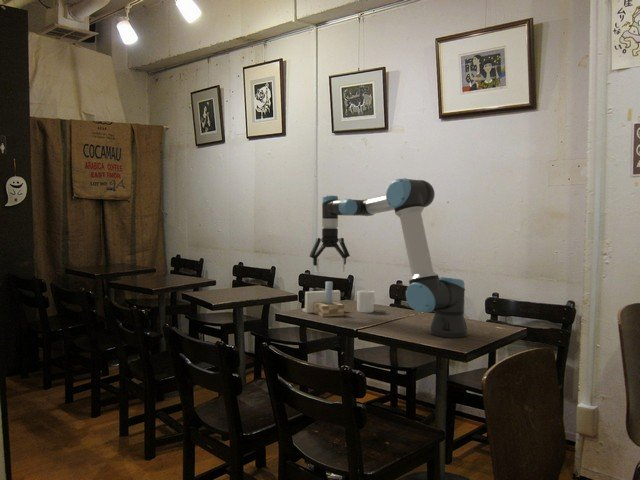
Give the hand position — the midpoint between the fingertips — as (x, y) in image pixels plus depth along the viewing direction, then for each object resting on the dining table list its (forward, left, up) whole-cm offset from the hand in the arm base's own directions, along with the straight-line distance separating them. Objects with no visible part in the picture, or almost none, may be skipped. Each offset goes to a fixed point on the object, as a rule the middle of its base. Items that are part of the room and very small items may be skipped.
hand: (329, 272), depth 255 cm
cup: (+1, -22, -21) cm, 30 cm away
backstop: (+9, 0, -20) cm, 22 cm away
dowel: (0, 0, -19) cm, 19 cm away
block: (0, 0, -20) cm, 20 cm away
